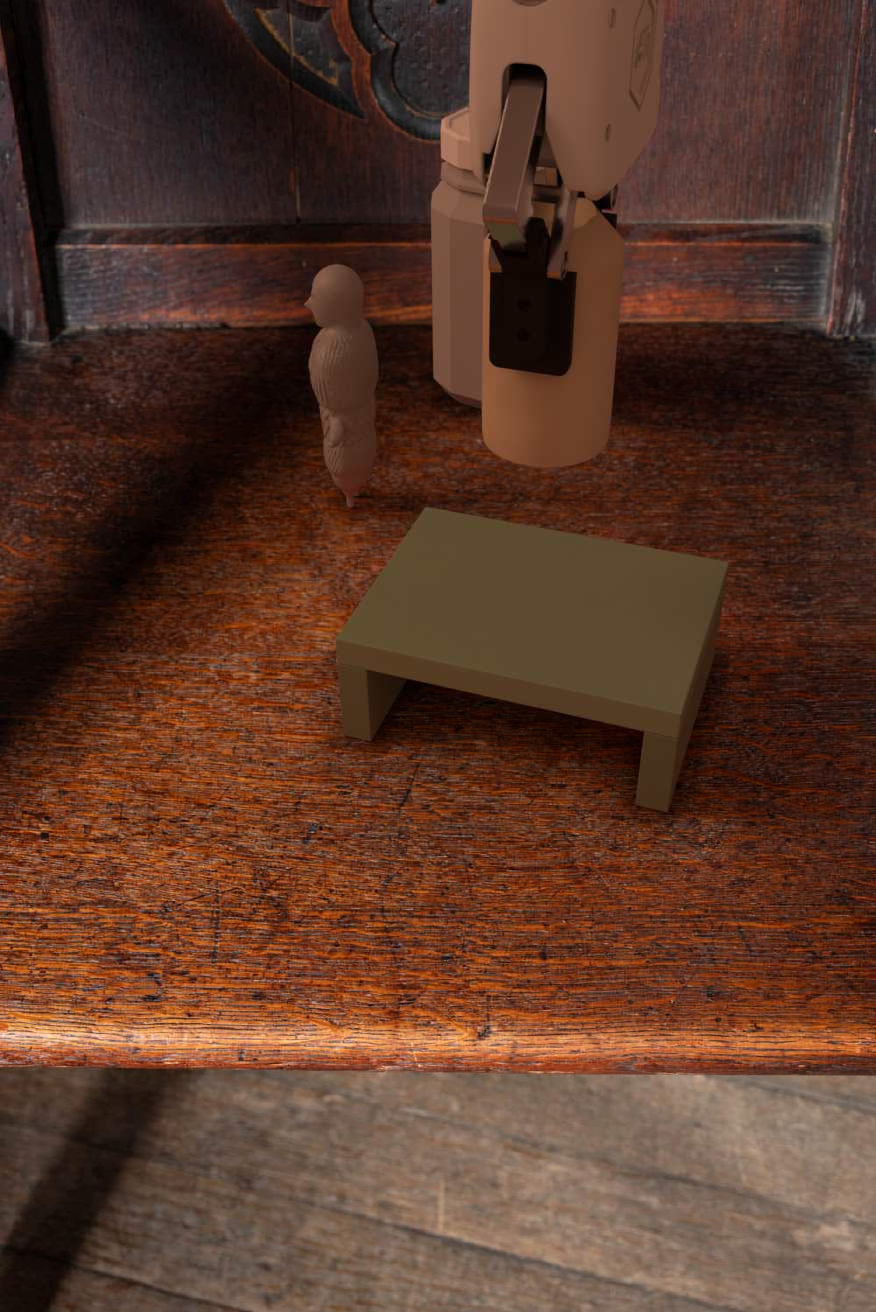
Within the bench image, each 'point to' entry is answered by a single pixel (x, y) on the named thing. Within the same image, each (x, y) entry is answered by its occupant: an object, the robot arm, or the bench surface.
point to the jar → (459, 265)
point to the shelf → (540, 631)
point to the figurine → (344, 377)
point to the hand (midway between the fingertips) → (552, 331)
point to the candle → (580, 402)
